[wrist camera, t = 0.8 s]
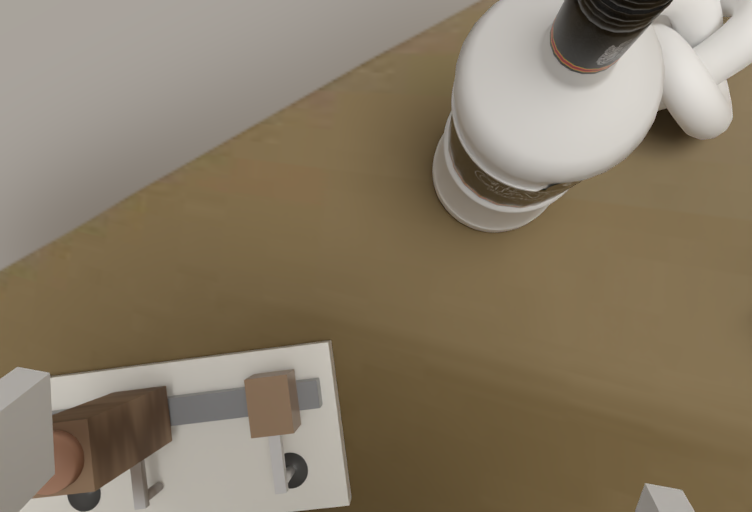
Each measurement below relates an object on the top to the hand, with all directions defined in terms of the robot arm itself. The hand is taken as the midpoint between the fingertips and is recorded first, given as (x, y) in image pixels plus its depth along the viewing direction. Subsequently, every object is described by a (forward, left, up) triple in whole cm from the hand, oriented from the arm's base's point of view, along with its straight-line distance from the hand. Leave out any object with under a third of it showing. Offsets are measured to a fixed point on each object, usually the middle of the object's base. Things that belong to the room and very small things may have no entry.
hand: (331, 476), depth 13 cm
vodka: (+11, -9, -32) cm, 35 cm away
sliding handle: (-5, +19, -29) cm, 35 cm away
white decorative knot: (+16, -22, -32) cm, 42 cm away
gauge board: (-6, +18, -31) cm, 36 cm away
